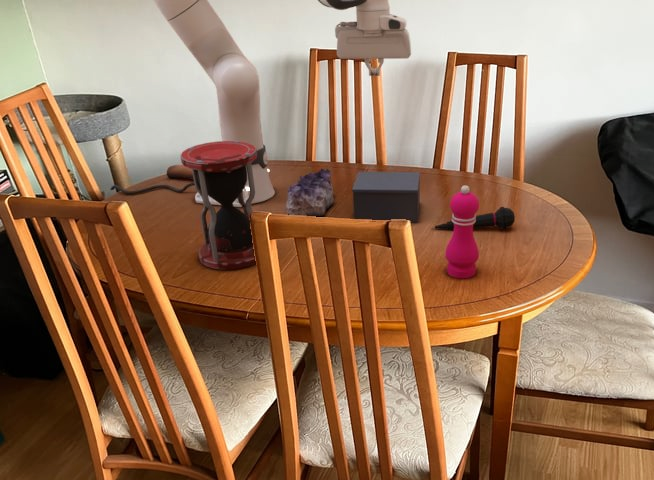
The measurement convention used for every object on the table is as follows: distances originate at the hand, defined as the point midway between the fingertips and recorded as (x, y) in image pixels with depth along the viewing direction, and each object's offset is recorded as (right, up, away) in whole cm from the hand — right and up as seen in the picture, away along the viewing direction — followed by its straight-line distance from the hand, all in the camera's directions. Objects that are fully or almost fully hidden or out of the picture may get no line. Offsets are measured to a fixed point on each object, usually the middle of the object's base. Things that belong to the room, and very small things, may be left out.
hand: (374, 75), depth 171 cm
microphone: (+26, -44, -15) cm, 53 cm away
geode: (-17, -37, 0) cm, 40 cm away
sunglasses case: (-55, -25, +22) cm, 64 cm away
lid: (+3, -31, -9) cm, 33 cm away
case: (+4, -39, -5) cm, 39 cm away
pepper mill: (+20, -56, -35) cm, 68 cm away
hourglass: (-33, -51, -25) cm, 66 cm away
